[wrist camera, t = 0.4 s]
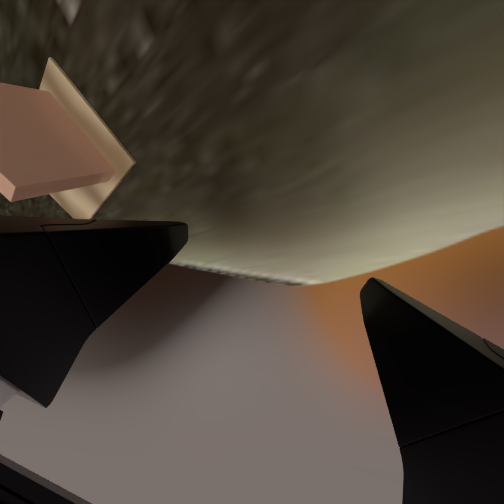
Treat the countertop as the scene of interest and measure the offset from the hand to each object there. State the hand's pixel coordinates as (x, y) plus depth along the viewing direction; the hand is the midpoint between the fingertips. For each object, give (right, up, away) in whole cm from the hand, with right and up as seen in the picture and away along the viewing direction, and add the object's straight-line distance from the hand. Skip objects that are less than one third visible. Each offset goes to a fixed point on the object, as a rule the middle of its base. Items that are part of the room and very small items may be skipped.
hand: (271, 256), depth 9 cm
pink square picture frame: (-22, +14, +14) cm, 30 cm away
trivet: (-26, +13, +17) cm, 33 cm away
